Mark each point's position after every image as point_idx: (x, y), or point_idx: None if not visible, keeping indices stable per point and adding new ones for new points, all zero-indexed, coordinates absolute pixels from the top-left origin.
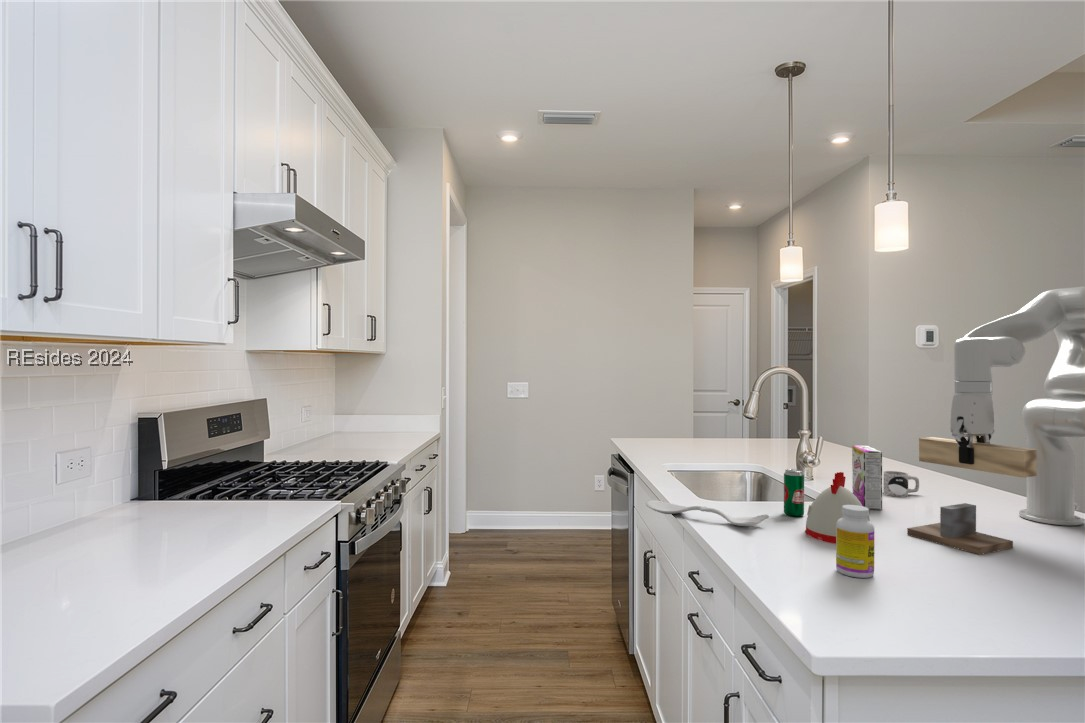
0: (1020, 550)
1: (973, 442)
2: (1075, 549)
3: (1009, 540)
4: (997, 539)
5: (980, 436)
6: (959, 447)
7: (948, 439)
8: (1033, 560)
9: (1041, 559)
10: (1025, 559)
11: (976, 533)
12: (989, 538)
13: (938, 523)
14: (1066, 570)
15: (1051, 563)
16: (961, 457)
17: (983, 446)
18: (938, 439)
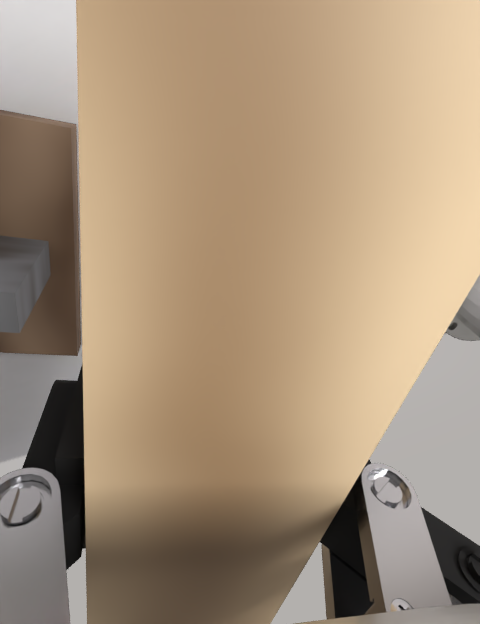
0: (75, 359)
1: (298, 507)
2: None
3: (71, 350)
4: (47, 332)
5: (442, 573)
6: (60, 452)
7: (440, 222)
8: (14, 401)
9: (44, 404)
10: (2, 392)
11: (51, 276)
12: (33, 318)
13: (51, 130)
14: (12, 447)
15: (34, 421)
16: (51, 397)
17: (89, 618)
18: (313, 58)
